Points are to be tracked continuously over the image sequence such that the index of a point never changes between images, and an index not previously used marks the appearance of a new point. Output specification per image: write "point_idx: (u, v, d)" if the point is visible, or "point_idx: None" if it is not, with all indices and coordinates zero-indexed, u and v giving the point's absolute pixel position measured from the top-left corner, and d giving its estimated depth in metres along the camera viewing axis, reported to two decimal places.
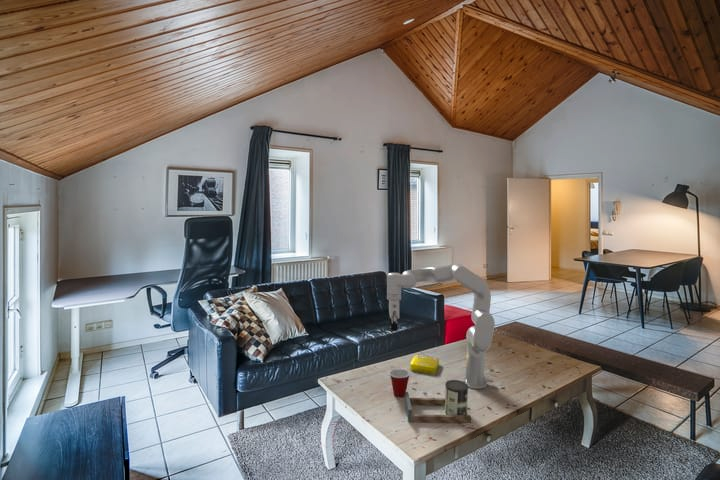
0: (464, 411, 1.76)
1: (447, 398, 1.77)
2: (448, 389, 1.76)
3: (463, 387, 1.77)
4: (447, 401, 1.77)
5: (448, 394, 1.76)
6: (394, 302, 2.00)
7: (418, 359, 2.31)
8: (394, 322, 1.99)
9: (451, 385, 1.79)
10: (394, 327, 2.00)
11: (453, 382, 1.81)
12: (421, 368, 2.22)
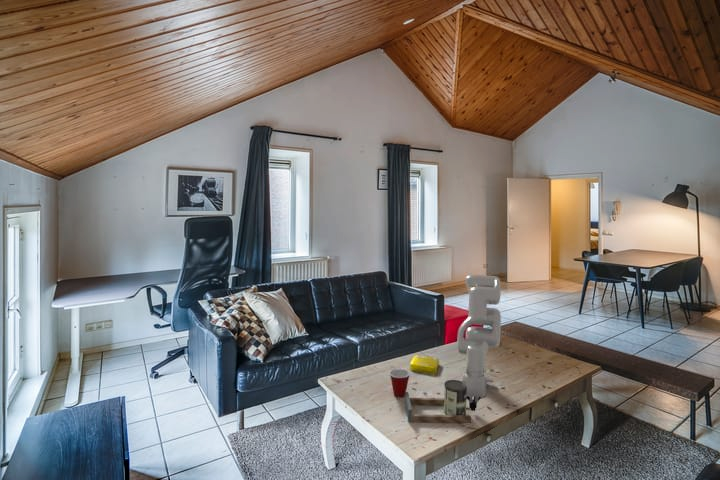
0: (463, 411, 1.76)
1: (446, 398, 1.77)
2: (447, 389, 1.76)
3: (462, 387, 1.76)
4: (446, 401, 1.77)
5: (447, 394, 1.76)
6: (484, 376, 1.78)
7: (418, 359, 2.31)
8: None
9: (450, 385, 1.79)
10: None
11: (452, 382, 1.81)
12: (421, 368, 2.22)
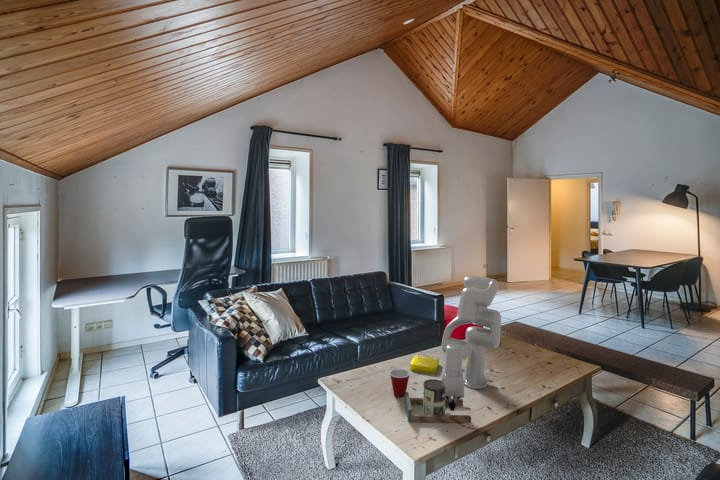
0: (441, 411, 1.76)
1: (424, 397, 1.78)
2: (425, 388, 1.77)
3: (440, 387, 1.77)
4: (424, 400, 1.78)
5: (425, 393, 1.77)
6: (462, 376, 1.78)
7: (418, 359, 2.31)
8: None
9: (428, 384, 1.79)
10: None
11: (431, 381, 1.82)
12: (421, 368, 2.22)
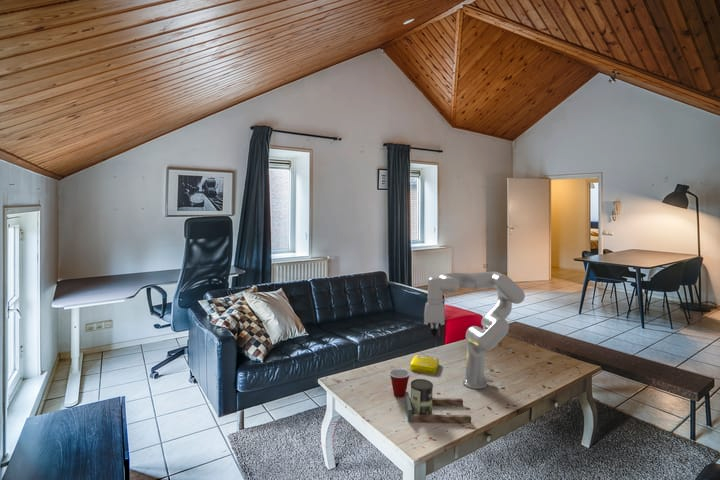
0: (427, 410, 1.76)
1: (411, 396, 1.79)
2: (412, 387, 1.78)
3: (427, 386, 1.77)
4: (411, 399, 1.79)
5: (412, 392, 1.78)
6: (443, 305, 1.99)
7: (418, 359, 2.31)
8: None
9: (415, 383, 1.80)
10: None
11: (419, 381, 1.82)
12: (421, 368, 2.22)
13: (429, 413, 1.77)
